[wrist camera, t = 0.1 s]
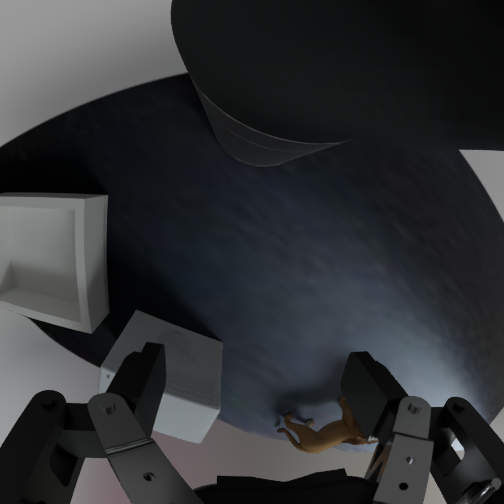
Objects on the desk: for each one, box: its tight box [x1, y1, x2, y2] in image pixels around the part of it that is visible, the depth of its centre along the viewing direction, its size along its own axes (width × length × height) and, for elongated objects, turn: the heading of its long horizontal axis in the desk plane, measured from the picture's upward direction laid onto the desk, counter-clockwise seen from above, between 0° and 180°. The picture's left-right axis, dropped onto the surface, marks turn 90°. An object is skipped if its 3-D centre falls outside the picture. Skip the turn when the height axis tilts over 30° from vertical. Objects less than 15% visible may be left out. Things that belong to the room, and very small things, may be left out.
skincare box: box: [98, 310, 223, 444], centre depth 25 cm, size 10×6×10 cm, turn 67°
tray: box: [0, 192, 110, 334], centre depth 24 cm, size 13×16×5 cm
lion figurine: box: [277, 396, 379, 453], centre depth 30 cm, size 15×5×9 cm, turn 115°
